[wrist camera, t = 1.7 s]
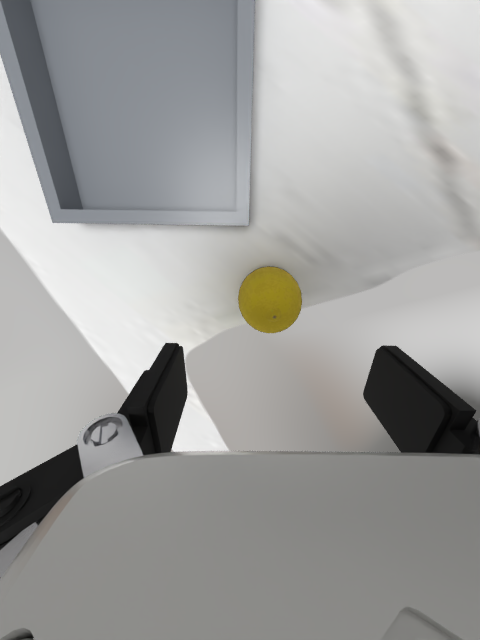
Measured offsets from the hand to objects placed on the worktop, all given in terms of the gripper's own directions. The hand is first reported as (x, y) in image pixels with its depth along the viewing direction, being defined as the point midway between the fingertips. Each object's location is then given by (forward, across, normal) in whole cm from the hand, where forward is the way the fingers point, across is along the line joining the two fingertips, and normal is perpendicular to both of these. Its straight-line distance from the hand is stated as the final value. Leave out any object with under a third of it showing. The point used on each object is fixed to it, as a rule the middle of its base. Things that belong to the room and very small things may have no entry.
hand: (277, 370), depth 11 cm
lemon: (+14, -1, 0) cm, 14 cm away
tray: (+14, +9, -14) cm, 22 cm away
